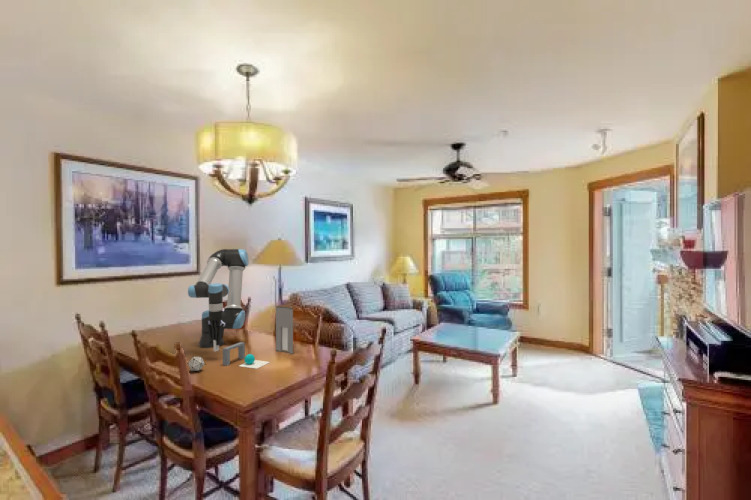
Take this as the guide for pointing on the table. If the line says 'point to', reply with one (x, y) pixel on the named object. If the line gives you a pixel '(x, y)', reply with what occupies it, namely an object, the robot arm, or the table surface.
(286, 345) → the cabinet
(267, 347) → the table surface
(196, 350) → the table surface
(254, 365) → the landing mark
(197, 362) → the game die
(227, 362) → the bridge
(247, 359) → the ball
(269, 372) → the table surface
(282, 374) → the table surface
